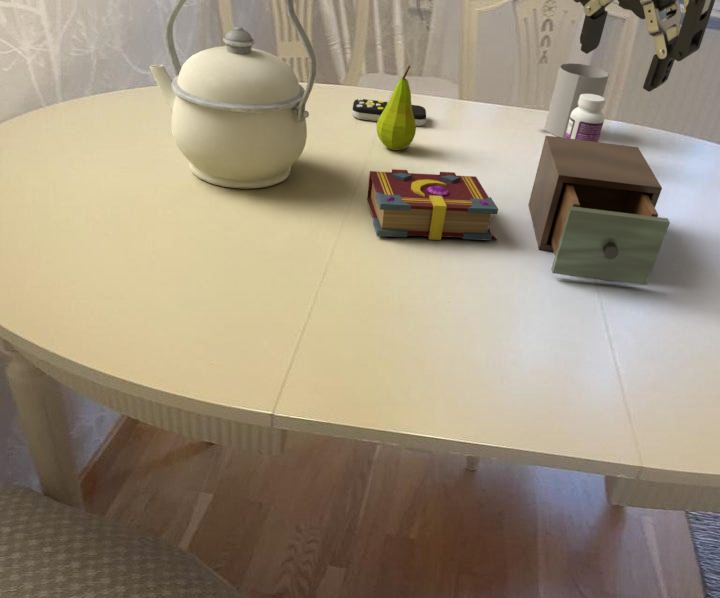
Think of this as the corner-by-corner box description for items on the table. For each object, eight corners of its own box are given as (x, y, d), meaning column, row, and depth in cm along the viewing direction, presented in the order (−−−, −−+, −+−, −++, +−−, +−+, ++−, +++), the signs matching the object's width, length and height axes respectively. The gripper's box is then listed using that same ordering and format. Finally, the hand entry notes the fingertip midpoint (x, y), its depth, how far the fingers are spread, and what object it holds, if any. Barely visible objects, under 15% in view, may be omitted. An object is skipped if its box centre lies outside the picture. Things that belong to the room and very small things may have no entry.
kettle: (337, 169, 111) (352, -32, 94) (275, 211, 98) (280, -14, 81) (193, 130, 117) (183, -65, 101) (117, 165, 104) (91, -53, 88)
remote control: (425, 127, 129) (427, 115, 128) (351, 119, 129) (352, 106, 128) (424, 116, 134) (426, 104, 133) (353, 108, 133) (354, 96, 132)
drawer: (648, 289, 90) (672, 226, 85) (553, 278, 90) (572, 214, 84) (625, 237, 101) (645, 178, 95) (540, 226, 101) (556, 167, 95)
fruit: (366, 144, 120) (374, 61, 112) (394, 138, 124) (404, 57, 116) (393, 157, 117) (404, 73, 109) (421, 151, 120) (433, 68, 112)
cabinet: (635, 261, 97) (662, 187, 91) (538, 249, 97) (558, 174, 91) (615, 216, 108) (638, 147, 102) (528, 205, 108) (545, 135, 102)
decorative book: (365, 202, 103) (368, 165, 100) (478, 207, 106) (485, 171, 102) (376, 239, 95) (381, 199, 92) (499, 243, 98) (508, 205, 94)
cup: (564, 121, 140) (580, 61, 133) (600, 135, 135) (618, 74, 129) (535, 127, 135) (550, 65, 129) (571, 142, 131) (588, 79, 124)
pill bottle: (597, 161, 125) (616, 99, 118) (581, 168, 122) (600, 104, 115) (569, 151, 127) (586, 89, 121) (553, 158, 124) (569, 94, 118)
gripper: (769, -95, 64) (696, 85, 78) (637, -155, 69) (592, 23, 83) (712, -62, 61) (649, 116, 76) (581, -128, 67) (545, 51, 81)
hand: (619, 68), depth 79 cm, fingers open, 8 cm apart
